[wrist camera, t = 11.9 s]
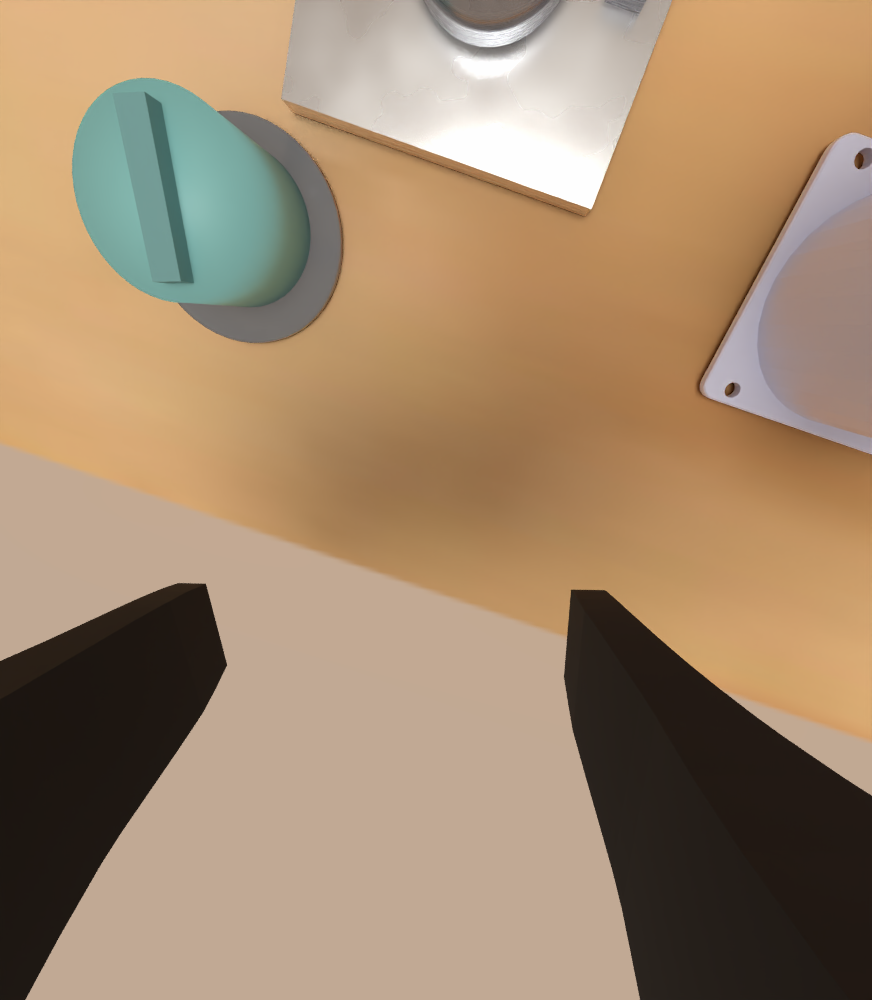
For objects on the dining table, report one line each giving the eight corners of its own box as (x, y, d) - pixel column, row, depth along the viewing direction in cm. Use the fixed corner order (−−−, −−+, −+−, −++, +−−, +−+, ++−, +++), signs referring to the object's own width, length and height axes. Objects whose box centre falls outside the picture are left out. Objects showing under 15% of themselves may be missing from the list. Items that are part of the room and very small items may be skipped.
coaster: (363, 157, 15) (360, 152, 14) (320, 367, 17) (316, 368, 17) (158, 84, 15) (150, 77, 14) (145, 307, 17) (138, 307, 17)
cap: (317, 306, 16) (259, 301, 12) (186, 307, 17) (85, 302, 12) (301, 137, 14) (226, 58, 10) (155, 143, 15) (23, 70, 11)
